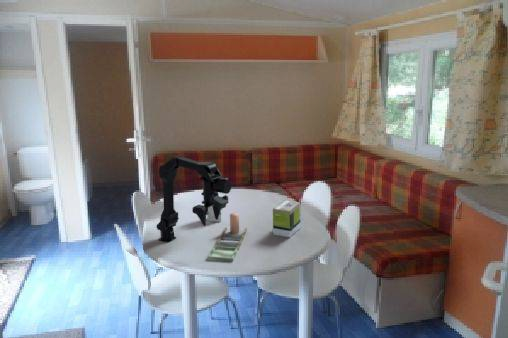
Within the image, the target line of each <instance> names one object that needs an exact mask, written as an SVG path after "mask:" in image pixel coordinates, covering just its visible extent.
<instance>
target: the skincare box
mask: <svg viewBox="0 0 508 338" xmlns="http://www.w3.org/2000/svg"><path fill="white" fill-rule="evenodd" d="M218 195H219V196H220V197H221V196H222V197H223V194H218ZM223 209H224V208H222V209H221V211H220V214H219V217H218V220H216V219H215V216H214V211H213V207H210V208H208V212H207V213H208V214H207V215H206V222H211V223H212V222H213V223H215V222H217V223H218V222H219V223H220V222H222V220H223Z"/></svg>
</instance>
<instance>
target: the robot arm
mask: <svg viewBox="0 0 508 338" xmlns="http://www.w3.org/2000/svg"><path fill="white" fill-rule="evenodd" d="M181 167H182V168H184V169H188V170H191V171H194V172H196V173H197V174H198V175H199V176H200V177H199V178H198V181H202V192H201V196H203V200H201V204H202V205H201V204H197V205H195V206H193V207H192V213H193V214H195V215H196V217H198V219H199V220H200V222H201V224H202V226H204V227H206V225H207V214H208V213H207V212H208V208H210V207H213V211H214V216H215V219H216V220H218V217H219V214H220V211H221V209H222V208H223V209H224V208H226V206H227V204H229V196H228V195H227V194H229V193H230V192H231V191H232V183H231V181H229V178H227V177H223V175H222V173H221V172H220V170H219V169H218V167H217V165H216V163H215V162H213V161H211V162H210V161H198V160H194V159H191V158H187V157H184V156H182V155H178V156H177V155H176V156H173V157H172V158H171V159H170V160H169V161H167V162H165V163H164V164H161V165H159V168H158V174H159V179H160V180H161V181H162V193H163V195H162V197H163V210H162V212H161V214H160V219H159V220H160V221H159V222H158V223H157V224H156V225H155V226H156V227H155V228H157V230H158V231H159V232H160V237H159V238H158V241H161V242H165V243H169V242H171V241H173V240H175V239H177V237H176V236H175V231H174V227H176V226H177V223H178V222H179V219H180V218H179V211H178V212H177V211H176V210H175V204H174V203H175V198H174V197H175V196H174V195H175V194H174V182H175V181H174V180H175V179H176V177H177V172H178V169H179V168H181ZM220 194H225V195H224V196H223V197H222V196H221V197H220V196H219V195H220Z"/></svg>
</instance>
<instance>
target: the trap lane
mask: <svg viewBox="0 0 508 338" xmlns="http://www.w3.org/2000/svg"><path fill="white" fill-rule="evenodd" d="M227 230H228V228H227V227H224V229H223V231H222V232H221V233H220V236H219V237H218V239H217V240H216V243H214V246H213V247H212V249H211V251H210V252H209V254H208V256H207V260H208V261H219V262H232V263H233V262H234V260H235V258H236V255H237V254H238V251H239V250H240V248H241V246H242V242H243V240H244V238H245V236H246V234H247V233H248V232H247V231H248V229H247V228H244V230H243V232H242V234H240V233H238V234H231V233H226V232H227ZM230 241H231V242H230ZM234 241H235V242H234Z"/></svg>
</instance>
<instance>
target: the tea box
mask: <svg viewBox="0 0 508 338" xmlns="http://www.w3.org/2000/svg"><path fill="white" fill-rule="evenodd" d="M301 213H302V212H301V202H299V201H298V202H297V201H292V200H286V199H285V200H283V201H281V202H280V203H279V204H278V205H276V206H275V207H273V208H272V234H273V235H275V236H279V237H280V236H281V237H284V238H291V237H292V236H293V235H294V234H295V233H297V231H298V230H299V229H300V228H301V224H302V221H301V220H302V219H301Z"/></svg>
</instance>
